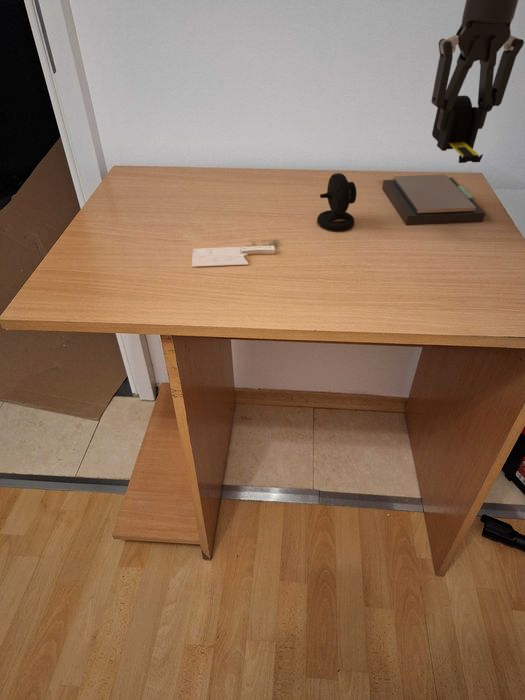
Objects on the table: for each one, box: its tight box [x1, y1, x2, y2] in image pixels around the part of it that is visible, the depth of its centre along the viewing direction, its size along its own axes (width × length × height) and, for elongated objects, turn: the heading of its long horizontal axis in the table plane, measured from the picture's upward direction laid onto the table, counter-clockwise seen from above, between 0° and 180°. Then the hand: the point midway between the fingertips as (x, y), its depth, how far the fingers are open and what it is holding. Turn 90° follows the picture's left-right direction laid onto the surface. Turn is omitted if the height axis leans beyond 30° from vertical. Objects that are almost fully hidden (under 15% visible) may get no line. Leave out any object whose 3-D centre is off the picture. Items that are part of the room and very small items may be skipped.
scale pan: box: [392, 174, 476, 213], centre depth 103 cm, size 12×17×1 cm
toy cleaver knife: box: [191, 245, 276, 268], centre depth 87 cm, size 5×15×1 cm, turn 94°
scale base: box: [381, 177, 486, 226], centre depth 104 cm, size 16×18×3 cm
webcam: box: [316, 172, 357, 232], centre depth 95 cm, size 8×8×10 cm
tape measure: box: [431, 95, 484, 164], centre depth 86 cm, size 15×4×8 cm, turn 3°
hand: (454, 147), depth 89 cm, fingers closed on tape measure, 4 cm apart
